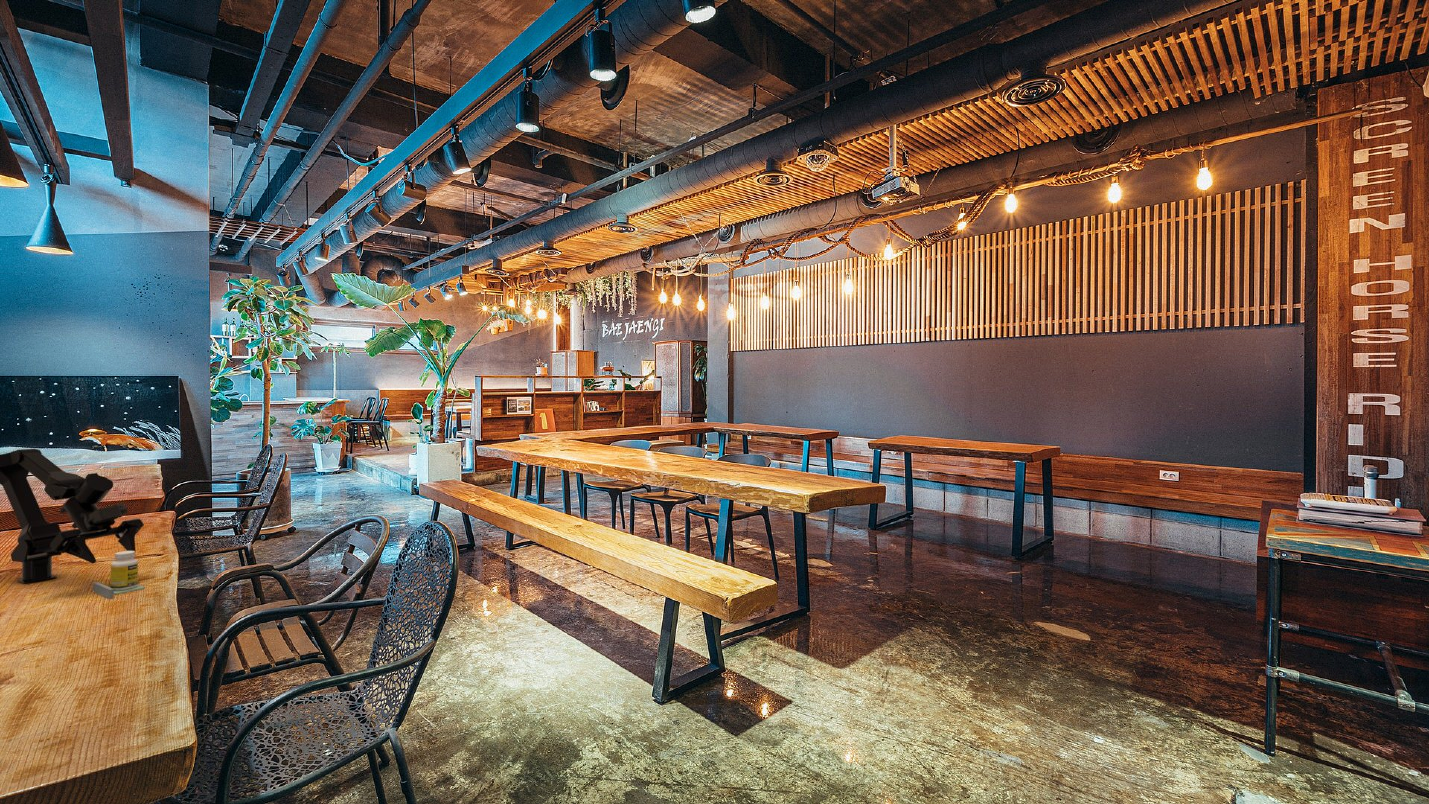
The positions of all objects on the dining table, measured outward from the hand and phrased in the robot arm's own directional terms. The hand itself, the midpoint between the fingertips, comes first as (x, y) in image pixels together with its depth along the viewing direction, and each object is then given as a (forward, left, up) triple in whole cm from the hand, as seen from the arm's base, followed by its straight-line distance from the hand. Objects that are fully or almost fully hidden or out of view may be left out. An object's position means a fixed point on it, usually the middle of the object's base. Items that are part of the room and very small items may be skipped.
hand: (114, 557), depth 169 cm
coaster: (+4, +1, -8) cm, 9 cm away
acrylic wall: (+5, -4, -8) cm, 10 cm away
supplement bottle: (+3, +1, -8) cm, 9 cm away
